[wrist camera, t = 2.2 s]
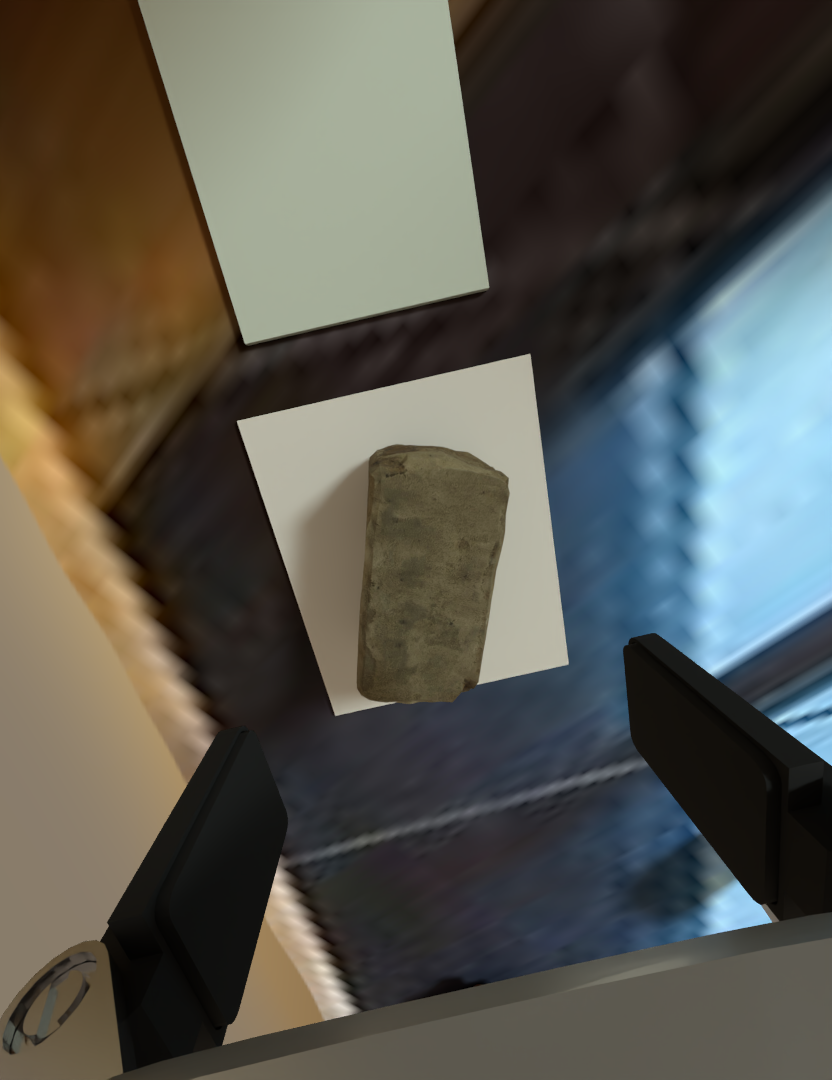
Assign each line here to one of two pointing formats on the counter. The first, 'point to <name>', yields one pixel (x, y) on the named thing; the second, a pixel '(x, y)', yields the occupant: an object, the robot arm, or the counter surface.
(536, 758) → the counter surface
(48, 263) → the counter surface
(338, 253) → the pale green pad
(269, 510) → the tile
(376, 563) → the stone block
